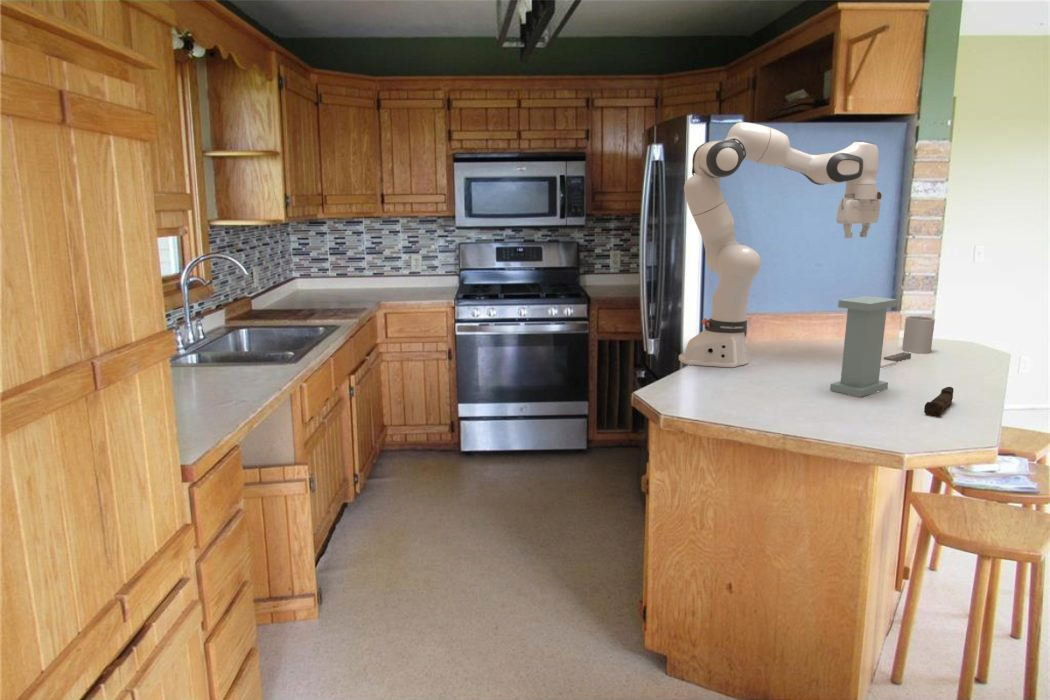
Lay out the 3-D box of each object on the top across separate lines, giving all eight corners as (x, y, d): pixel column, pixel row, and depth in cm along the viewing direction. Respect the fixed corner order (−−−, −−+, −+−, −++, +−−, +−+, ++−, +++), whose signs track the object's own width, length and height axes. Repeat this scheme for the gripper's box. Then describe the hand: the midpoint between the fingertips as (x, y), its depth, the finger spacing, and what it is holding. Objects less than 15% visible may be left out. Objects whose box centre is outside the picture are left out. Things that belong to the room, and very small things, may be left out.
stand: (860, 397, 200) (870, 303, 195) (830, 390, 207) (838, 300, 202) (887, 389, 209) (897, 299, 204) (857, 382, 216) (866, 295, 211)
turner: (881, 369, 234) (881, 363, 233) (862, 365, 238) (863, 360, 238) (915, 359, 248) (916, 354, 248) (897, 356, 253) (898, 351, 252)
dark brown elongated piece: (940, 418, 182) (942, 401, 181) (922, 415, 185) (925, 397, 184) (961, 404, 196) (963, 387, 195) (944, 401, 198) (946, 384, 197)
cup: (904, 352, 259) (908, 319, 256) (899, 347, 267) (903, 315, 265) (933, 354, 256) (937, 320, 253) (927, 349, 264) (931, 316, 262)
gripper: (852, 193, 225) (848, 239, 228) (885, 194, 237) (880, 237, 240) (833, 193, 230) (829, 238, 233) (866, 194, 242) (862, 236, 245)
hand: (855, 237), depth 237 cm, fingers open, 8 cm apart
